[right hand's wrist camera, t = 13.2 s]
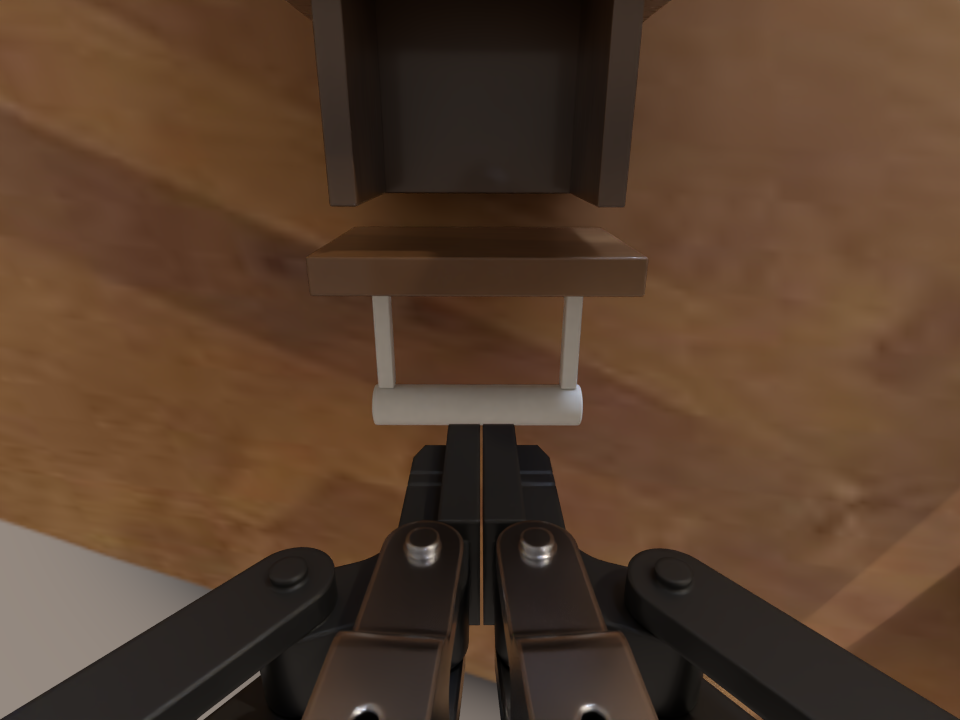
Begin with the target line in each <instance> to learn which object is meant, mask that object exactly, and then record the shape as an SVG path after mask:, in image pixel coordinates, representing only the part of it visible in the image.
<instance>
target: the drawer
mask: <svg viewBox="0 0 960 720" xmlns="http://www.w3.org/2000/svg"><path fill="white" fill-rule="evenodd" d="M310 1H311V12H312V22H313V33H314V43H315V54H316V65H317V75H318V86H319V96H320V107H321V118H322V128H323V139H324V149H325V160H326V170H327V181H328V192H329V202H330V206H357V205H360V204H362V203H364V202H366V201H368V200H370V199H373V198H375V197H377V196H379V195H381V194H384V193H571V194H573V195H575V196H577V197H579V198H581V199H583V200H585V201H587V202H589V203H591V204H593V205H595V206H597V207H624V206H625V200H626V190H627V180H628V169H629V159H630V148H631V138H632V128H633V117H634V107H635V96H636V86H637V76H638V65H639V55H640V44H641V34H642V23H643V13H644V3H645V0H310ZM306 264H307V273H308V282H309V291H310V295H312V296H372V304H373V318H374V332H375V346H376V360H377V374H378V384H377V385H375V388H374V391H373V397H372V415H373V420H374V423H375V424H376V425H449V424H480V425H483V424H514V425H580V423H581V420H582V413H583V399H582V392H581V388H580V386H579V385H577V375H578V361H579V348H580V334H581V320H582V307H583V297H642V296H644V294H645V286H646V277H647V269H648V258H647V257H646V256H644V255H643V254H641V253H640V252H638V251H637V250H635V249H633V248H632V247H630V246H629V245H627V244H626V243H624V242H623V241H621V240H620V239H618V238H616V237H615V236H613V235H612V234H610V233H609V232H607V231H606V230H604V229H603V228H582V227H354V228H352V229H351V230H349V231H348V232H346V233H344V234H343V235H341V236H339V237H338V238H336V239H335V240H333V241H331V242H330V243H328V244H327V245H325V246H323V247H322V248H320V249H318V250H317V251H315V252H314V253H312V254H310V255H309V256H307V257H306ZM391 296H531V297H564V309H563V326H562V342H561V359H560V375H559V383H560V384H395V383H396V374H395V357H394V340H393V322H392V305H391Z"/></svg>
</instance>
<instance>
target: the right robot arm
mask: <svg viewBox="0 0 960 720" xmlns="http://www.w3.org/2000/svg"><path fill="white" fill-rule="evenodd" d="M552 472H553V471H552V467H551V463H550V458H549V457H548V455H547V454H546V453H545V452H544V451H543V450H542V449H541V448H540V447H539V446H538V445H517V444H516V435H515V427H514V424H483V623H484V625H495V672H496V681H497V690H498V698H499V707H500V716H501V720H756V719H755V718H754V717H752V716H751V715H750V714H748V713H747V712H746V711H745V710H743V709H742V708H741V707H739V706H738V705H737V704H736V703H734V702H733V701H732V700H730V699H729V698H728V697H727V696H725V695H724V694H723V693H722V692H720V691H719V690H718V689H716V688H715V687H714V686H713V685H711V684H710V683H709V682H707V681H706V680H705V679H704V678H703V674H706V675H707V676H708V677H709V678H711V679H712V680H713V681H715V682H716V683H717V684H719V685H720V686H721V687H722V688H724V689H725V690H726V691H728V692H729V693H730V694H732V695H733V696H734V697H735V698H737V699H738V700H739V701H741V702H742V703H743V704H744V705H746V706H747V707H748V708H750V709H751V710H752V711H754V712H755V713H756V714H757V715H759V716H760V717H761V718H762V719H764V720H960V719H958V718H956V717H955V716H953V715H952V714H950V713H948V712H947V711H945V710H943V709H942V708H940V707H938V706H937V705H935V704H934V703H932V702H930V701H929V700H927V699H925V698H924V697H922V696H920V695H919V694H917V693H915V692H914V691H912V690H911V689H909V688H907V687H906V686H904V685H902V684H901V683H899V682H897V681H896V680H894V679H892V678H891V677H889V676H888V675H886V674H884V673H883V672H881V671H879V670H878V669H876V668H874V667H873V666H871V665H870V664H868V663H866V662H865V661H863V660H861V659H860V658H858V657H856V656H855V655H853V654H851V653H850V652H848V651H847V650H845V649H843V648H842V647H840V646H838V645H837V644H835V643H833V642H832V641H830V640H828V639H827V638H825V637H824V636H822V635H820V634H819V633H817V632H815V631H814V630H812V629H810V628H809V627H807V626H805V625H804V624H802V623H801V622H799V621H797V620H796V619H794V618H792V617H791V616H789V615H787V614H786V613H784V612H783V611H781V610H779V609H778V608H776V607H774V606H773V605H771V604H769V603H768V602H766V601H764V600H763V599H761V598H760V597H758V596H756V595H755V594H753V593H751V592H750V591H748V590H746V589H745V588H743V587H741V586H740V585H738V584H737V583H735V582H733V581H732V580H730V579H728V578H727V577H725V576H723V575H722V574H720V573H719V572H717V571H715V570H714V569H712V568H710V567H709V566H707V565H705V564H704V563H702V562H700V561H699V560H697V559H695V558H693V557H692V556H690V555H687V554H685V553H682V552H679V551H676V550H670V549H661V548H658V549H649V550H645V551H642V552H640V553H638V554H636V555H635V556H634V557H633V558H632V559H631V560H630V562H629V564H628V567H626V566H621V565H617V564H613V563H609V562H605V561H602V560H598V559H596V558H593V557H591V556H589V555H587V554H586V553H584V552H583V551H581V550H580V549H579V548H578V546H577V543H576V541H575V539H574V538H573V537H572V535H571V534H570V533H569V532H568V531H566V529H565V525H564V520H563V516H562V511H561V507H560V502H559V498H558V494H557V489H556V486H555V480H554V476H553V473H552ZM469 625H480V424H449V426H448V434H447V443H446V445H425V446H424V447H423V448H422V449H421V450H420V451H419V452H418V453H417V454H416V455H415V456H414V458H413V462H412V467H411V471H410V476H409V481H408V486H407V490H406V495H405V499H404V504H403V508H402V513H401V518H400V522H399V527H398V528H397V529H395V530H394V531H392V532H391V533H390V534H389V535H388V537H387V538H386V539H385V541H384V543H383V546H382V548H381V551H380V553H379V554H377V555H375V556H373V557H371V558H368V559H366V560H363V561H360V562H356V563H352V564H348V565H343V566H339V567H335V568H334V563H333V561H332V559H331V558H330V556H328V555H327V554H326V553H324V552H323V551H321V550H318V549H315V548H309V547H298V548H290V549H286V550H282V551H279V552H277V553H274V554H272V555H270V556H268V557H266V558H264V559H263V560H261V561H260V562H258V563H256V564H255V565H253V566H251V567H250V568H248V569H246V570H245V571H243V572H242V573H240V574H238V575H237V576H235V577H233V578H232V579H230V580H228V581H227V582H225V583H223V584H222V585H220V586H219V587H217V588H215V589H214V590H212V591H210V592H209V593H207V594H205V595H204V596H202V597H200V598H199V599H197V600H196V601H194V602H192V603H191V604H189V605H187V606H186V607H184V608H183V609H181V610H179V611H178V612H176V613H174V614H173V615H171V616H169V617H168V618H166V619H164V620H163V621H161V622H159V623H158V624H156V625H155V626H153V627H151V628H150V629H148V630H146V631H145V632H143V633H141V634H140V635H138V636H136V637H135V638H133V639H132V640H130V641H128V642H127V643H125V644H123V645H122V646H120V647H119V648H117V649H115V650H113V651H112V652H110V653H109V654H107V655H105V656H104V657H102V658H100V659H99V660H97V661H95V662H94V663H92V664H91V665H89V666H87V667H86V668H84V669H82V670H81V671H79V672H77V673H76V674H74V675H72V676H71V677H69V678H68V679H66V680H64V681H63V682H61V683H59V684H58V685H56V686H54V687H53V688H51V689H50V690H48V691H46V692H45V693H43V694H41V695H40V696H38V697H36V698H35V699H33V700H31V701H30V702H28V703H27V704H25V705H23V706H22V707H20V708H18V709H17V710H15V711H13V712H12V713H10V714H8V715H7V716H5V717H4V718H2V719H0V720H197V719H198V718H199V717H200V716H201V715H203V714H204V713H205V712H206V711H208V710H209V709H210V708H212V707H213V706H214V705H216V704H217V703H218V702H219V701H221V700H222V699H223V698H225V697H226V696H227V695H228V694H230V693H231V692H232V691H234V690H235V689H236V688H238V687H239V686H240V685H241V684H243V683H244V682H245V681H247V680H248V679H249V678H251V677H252V676H253V675H254V674H256V673H257V672H258V671H260V674H261V675H260V676H259V677H258V678H256V679H255V680H254V681H253V682H251V683H250V684H249V685H248V686H246V687H245V688H244V689H242V690H241V691H240V692H239V693H237V694H236V695H235V696H233V697H232V698H231V699H230V700H228V701H227V702H226V703H224V704H223V705H222V706H221V707H219V708H218V709H217V710H215V711H214V712H213V713H212V714H210V715H209V716H208V717H206V718H205V719H204V720H459V716H460V707H461V698H462V690H463V681H464V672H465V654H466V652H467V649H468V643H469Z"/></svg>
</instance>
